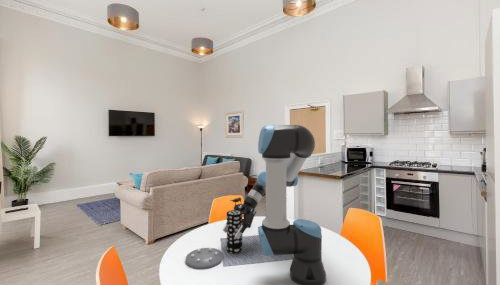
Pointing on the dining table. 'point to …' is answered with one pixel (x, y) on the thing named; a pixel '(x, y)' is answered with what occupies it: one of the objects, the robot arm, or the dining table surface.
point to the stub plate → (204, 258)
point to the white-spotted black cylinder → (234, 231)
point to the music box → (237, 205)
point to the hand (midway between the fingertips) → (230, 234)
